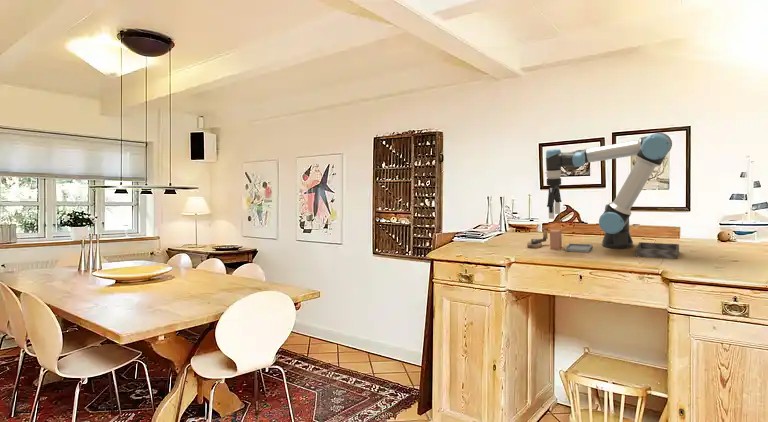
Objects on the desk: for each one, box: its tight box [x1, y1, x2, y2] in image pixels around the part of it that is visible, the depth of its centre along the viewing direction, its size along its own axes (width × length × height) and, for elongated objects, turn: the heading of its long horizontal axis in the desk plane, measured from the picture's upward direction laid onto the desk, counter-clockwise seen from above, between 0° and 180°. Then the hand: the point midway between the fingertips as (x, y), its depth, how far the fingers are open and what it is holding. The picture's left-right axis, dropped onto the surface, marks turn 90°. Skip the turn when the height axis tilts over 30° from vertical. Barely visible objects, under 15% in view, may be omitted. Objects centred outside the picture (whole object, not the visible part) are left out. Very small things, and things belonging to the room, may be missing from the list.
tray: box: [564, 242, 593, 253], centre depth 261 cm, size 12×12×2 cm
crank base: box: [526, 241, 543, 249], centre depth 275 cm, size 8×8×2 cm
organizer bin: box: [635, 241, 680, 260], centre depth 239 cm, size 18×14×4 cm
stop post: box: [549, 229, 563, 250], centre depth 267 cm, size 5×5×10 cm
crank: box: [530, 227, 549, 243], centre depth 275 cm, size 10×4×8 cm, turn 102°
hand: (554, 216), depth 265 cm, fingers open, 13 cm apart
